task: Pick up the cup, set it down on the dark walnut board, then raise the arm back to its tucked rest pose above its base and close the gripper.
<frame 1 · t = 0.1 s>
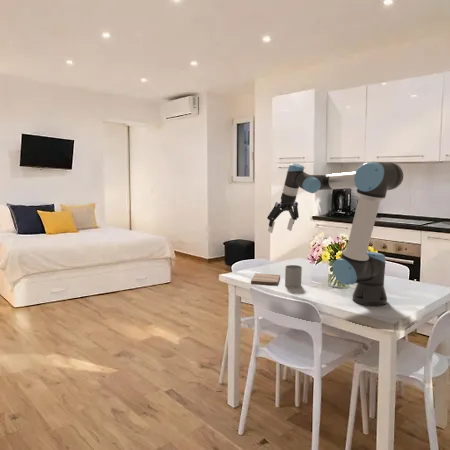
hand: (279, 230, 227), 28 cm above the table, tool tilted 20°, fingers open, 13 cm apart
walnut board: (265, 280, 233), on the table
cup: (293, 286, 223), on the table
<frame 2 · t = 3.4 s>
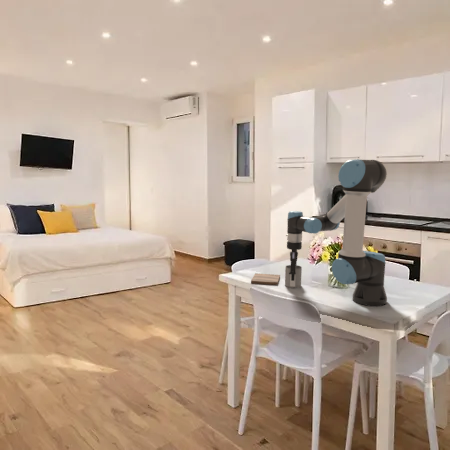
hand: (293, 283, 223), 1 cm above the table, tool pointing down, fingers closed on cup, 8 cm apart
cup: (292, 285, 223), on the table, touching gripper
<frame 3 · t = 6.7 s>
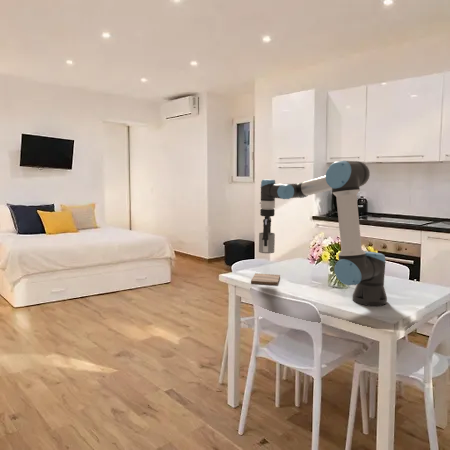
hand: (266, 250, 231), 17 cm above the table, tool pointing down, fingers closed on cup, 8 cm apart
cup: (266, 252, 231), point 16 cm above the table, touching gripper
when the fingers open (4 cm above the table, at t = 9.8 s): cup drops 1 cm, resting on walnut board.
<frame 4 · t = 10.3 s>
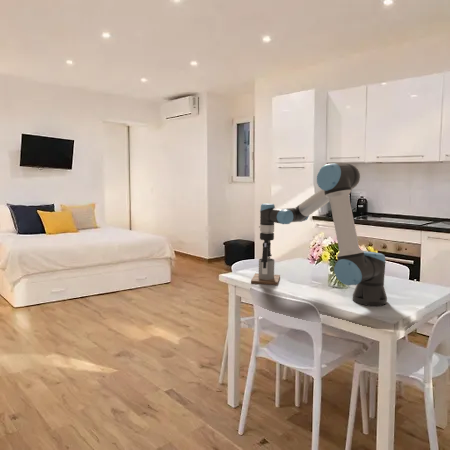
hand: (266, 271, 232), 5 cm above the table, tool pointing down, fingers open, 13 cm apart
cup: (266, 278, 232), point 1 cm above the table, touching walnut board
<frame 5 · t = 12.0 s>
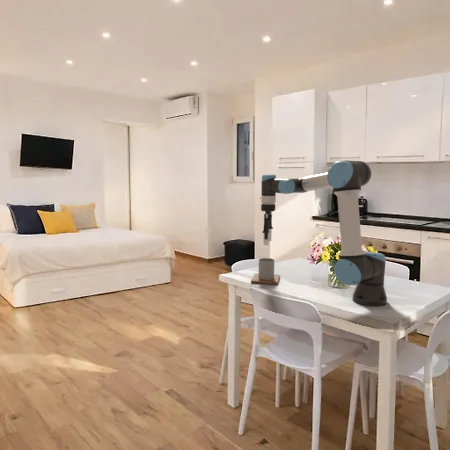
hand: (267, 243, 230), 21 cm above the table, tool pointing down, fingers open, 13 cm apart
nothing on the table moved.
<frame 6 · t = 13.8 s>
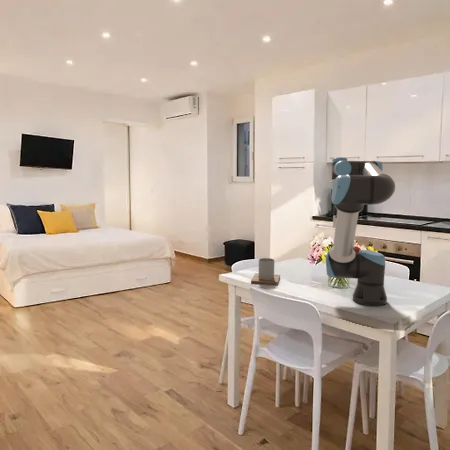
hand: (336, 229, 221), 30 cm above the table, tool pointing down, fingers open, 13 cm apart
nothing on the table moved.
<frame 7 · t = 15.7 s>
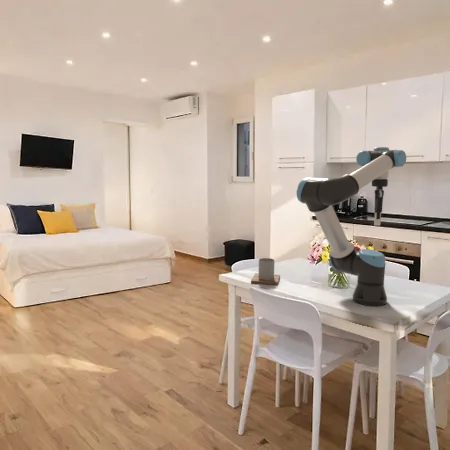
hand: (377, 225, 217), 32 cm above the table, tool pointing down, fingers closed
nothing on the table moved.
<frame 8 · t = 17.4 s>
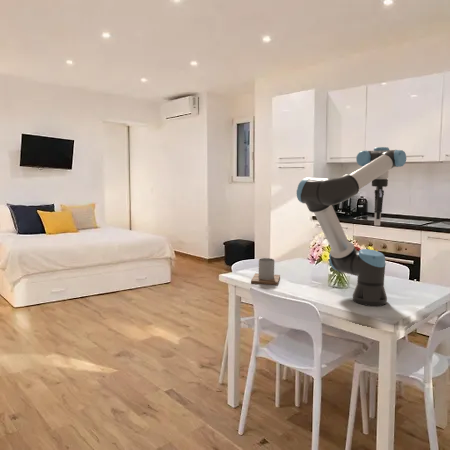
hand: (377, 225, 217), 32 cm above the table, tool pointing down, fingers closed
nothing on the table moved.
at the end: cup inside the target area on the walnut board (0.3 cm from its centre), point 1.3 cm above the walnut board's base; cup tilted 0°; the gripper is holding nothing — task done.
